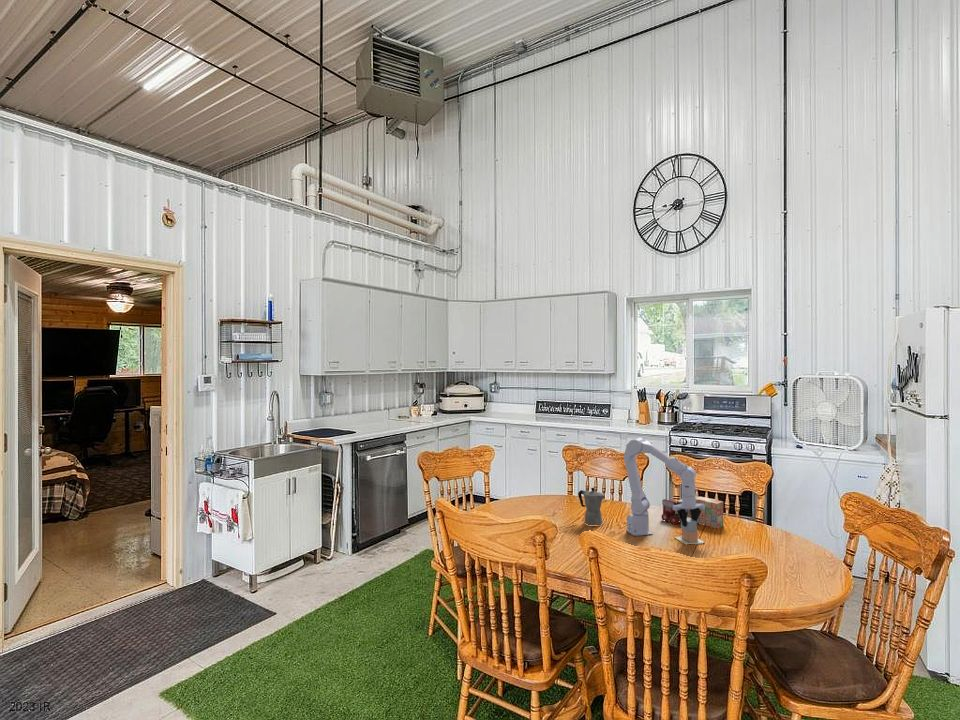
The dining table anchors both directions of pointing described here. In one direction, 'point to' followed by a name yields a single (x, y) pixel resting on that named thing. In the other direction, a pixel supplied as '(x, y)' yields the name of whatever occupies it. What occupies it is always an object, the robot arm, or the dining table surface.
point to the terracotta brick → (690, 536)
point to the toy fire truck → (670, 511)
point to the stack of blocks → (709, 512)
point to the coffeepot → (592, 506)
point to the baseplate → (689, 542)
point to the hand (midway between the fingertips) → (689, 525)
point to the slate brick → (690, 525)
